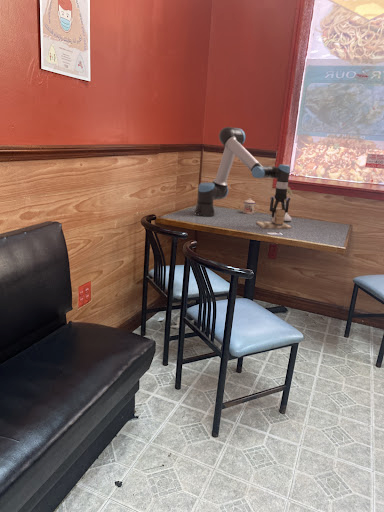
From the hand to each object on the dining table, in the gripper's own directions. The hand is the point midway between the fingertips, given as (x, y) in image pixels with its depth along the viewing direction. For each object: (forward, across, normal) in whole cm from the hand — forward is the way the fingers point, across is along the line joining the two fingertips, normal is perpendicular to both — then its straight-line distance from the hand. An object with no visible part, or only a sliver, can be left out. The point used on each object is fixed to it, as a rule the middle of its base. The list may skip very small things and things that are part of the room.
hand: (277, 222), depth 274 cm
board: (+3, -2, 0) cm, 4 cm away
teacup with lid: (+3, -5, +46) cm, 47 cm away
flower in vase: (+3, +13, +21) cm, 25 cm away
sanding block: (+1, 0, 0) cm, 1 cm away
